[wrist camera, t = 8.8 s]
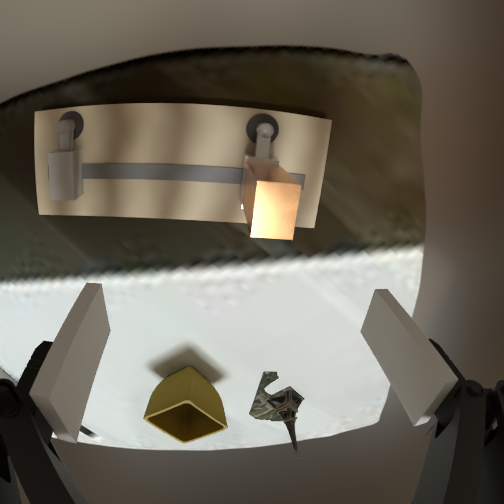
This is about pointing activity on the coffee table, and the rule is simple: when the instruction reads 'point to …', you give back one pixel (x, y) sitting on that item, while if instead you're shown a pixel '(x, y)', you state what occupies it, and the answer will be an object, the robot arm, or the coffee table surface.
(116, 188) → the gauge board
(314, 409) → the coffee table surface
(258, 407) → the eiffel tower figurine
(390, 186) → the coffee table surface
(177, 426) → the flower pot
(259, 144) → the slide leg
